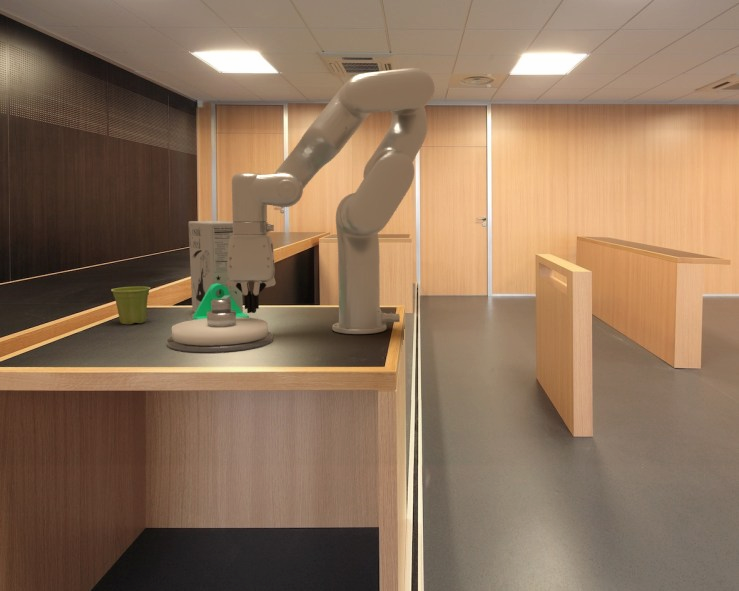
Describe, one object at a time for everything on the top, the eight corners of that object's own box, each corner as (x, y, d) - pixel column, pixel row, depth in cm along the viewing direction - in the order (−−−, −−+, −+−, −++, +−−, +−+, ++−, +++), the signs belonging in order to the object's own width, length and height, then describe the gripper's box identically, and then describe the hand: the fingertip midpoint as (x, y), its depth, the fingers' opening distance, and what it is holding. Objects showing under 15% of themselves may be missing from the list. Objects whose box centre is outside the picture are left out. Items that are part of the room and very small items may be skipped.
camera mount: (201, 331, 156) (199, 288, 155) (193, 326, 163) (191, 284, 161) (250, 326, 162) (249, 284, 160) (241, 322, 168) (239, 281, 167)
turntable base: (277, 331, 154) (277, 327, 154) (266, 352, 132) (266, 347, 132) (181, 333, 153) (181, 328, 153) (154, 353, 131) (154, 348, 131)
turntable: (272, 326, 153) (271, 294, 152) (261, 344, 133) (260, 308, 132) (184, 328, 152) (183, 296, 151) (160, 346, 132) (159, 309, 131)
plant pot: (105, 325, 165) (102, 290, 163) (127, 318, 174) (125, 285, 172) (138, 326, 162) (136, 291, 161) (159, 320, 171) (157, 286, 170)
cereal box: (192, 311, 185) (188, 221, 182) (218, 309, 189) (215, 220, 185) (214, 323, 166) (210, 222, 163) (243, 320, 170) (240, 222, 167)
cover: (238, 322, 145) (237, 297, 144) (233, 327, 139) (232, 301, 138) (210, 322, 145) (209, 298, 144) (204, 327, 139) (203, 302, 138)
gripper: (285, 229, 151) (286, 309, 153) (219, 229, 150) (221, 309, 152) (282, 230, 143) (283, 314, 146) (212, 230, 143) (215, 315, 145)
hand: (251, 312), depth 149 cm, fingers closed
